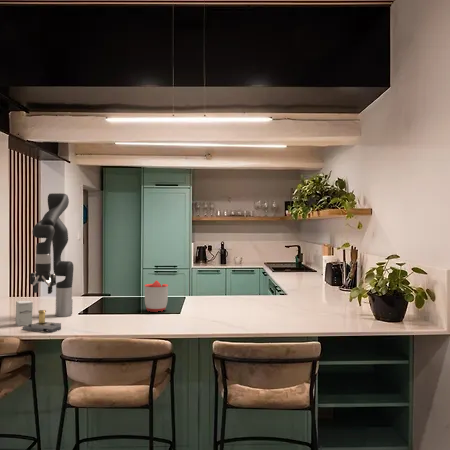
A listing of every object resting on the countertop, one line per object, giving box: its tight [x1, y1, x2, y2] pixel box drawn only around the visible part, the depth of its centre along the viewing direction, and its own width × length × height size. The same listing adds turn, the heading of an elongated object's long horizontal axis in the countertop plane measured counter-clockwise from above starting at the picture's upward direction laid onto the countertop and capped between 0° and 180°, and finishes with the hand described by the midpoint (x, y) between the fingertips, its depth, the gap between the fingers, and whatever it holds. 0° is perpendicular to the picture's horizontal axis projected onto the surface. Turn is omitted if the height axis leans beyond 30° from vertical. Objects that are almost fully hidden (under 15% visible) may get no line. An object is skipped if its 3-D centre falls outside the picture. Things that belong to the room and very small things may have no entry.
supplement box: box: [15, 300, 34, 327], centre depth 232 cm, size 7×7×13 cm
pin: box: [38, 309, 47, 325], centre depth 221 cm, size 4×4×10 cm
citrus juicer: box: [144, 280, 169, 313], centre depth 277 cm, size 16×17×20 cm
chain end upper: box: [31, 321, 62, 333], centre depth 221 cm, size 7×13×4 cm, turn 76°
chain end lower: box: [21, 324, 47, 332], centre depth 222 cm, size 7×13×2 cm, turn 76°
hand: (42, 293), depth 221 cm, fingers open, 8 cm apart
